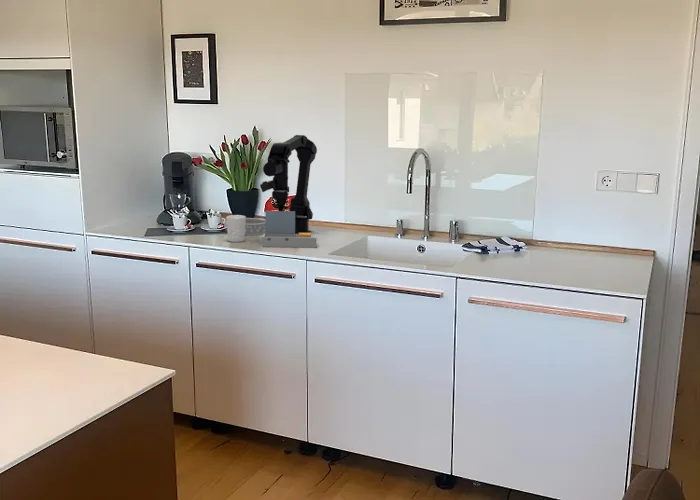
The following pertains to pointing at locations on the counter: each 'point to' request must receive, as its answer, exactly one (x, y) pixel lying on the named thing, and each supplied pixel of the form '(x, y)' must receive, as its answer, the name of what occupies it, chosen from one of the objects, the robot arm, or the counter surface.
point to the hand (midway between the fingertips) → (280, 211)
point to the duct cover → (279, 222)
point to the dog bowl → (254, 227)
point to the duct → (288, 241)
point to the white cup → (236, 228)
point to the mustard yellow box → (304, 234)
